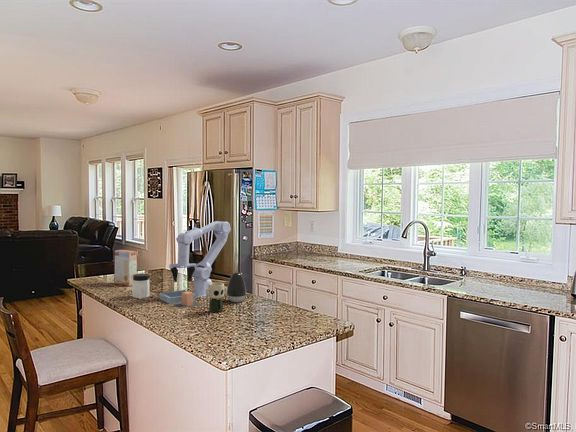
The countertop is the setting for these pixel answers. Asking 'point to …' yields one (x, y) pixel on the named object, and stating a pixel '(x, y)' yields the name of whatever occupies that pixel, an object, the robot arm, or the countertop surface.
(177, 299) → the bin
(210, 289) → the character mug
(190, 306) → the mat
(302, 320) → the countertop surface
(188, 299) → the block
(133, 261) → the cracker box
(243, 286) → the dark grey dome figure
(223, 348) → the countertop surface
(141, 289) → the jar
